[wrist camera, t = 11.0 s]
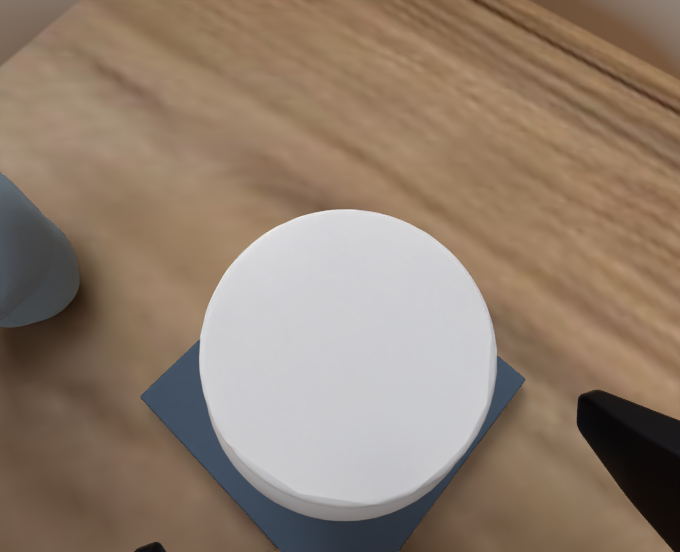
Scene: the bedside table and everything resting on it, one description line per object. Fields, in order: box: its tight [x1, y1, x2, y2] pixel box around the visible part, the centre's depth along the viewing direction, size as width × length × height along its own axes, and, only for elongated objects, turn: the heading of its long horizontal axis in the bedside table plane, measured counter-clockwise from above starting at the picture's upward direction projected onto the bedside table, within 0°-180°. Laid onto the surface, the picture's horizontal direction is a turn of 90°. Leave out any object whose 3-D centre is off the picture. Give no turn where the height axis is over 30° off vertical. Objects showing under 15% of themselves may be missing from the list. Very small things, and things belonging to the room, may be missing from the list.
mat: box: [141, 339, 525, 552], centre depth 17 cm, size 11×11×1 cm
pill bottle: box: [199, 210, 497, 521], centre depth 12 cm, size 6×6×11 cm
